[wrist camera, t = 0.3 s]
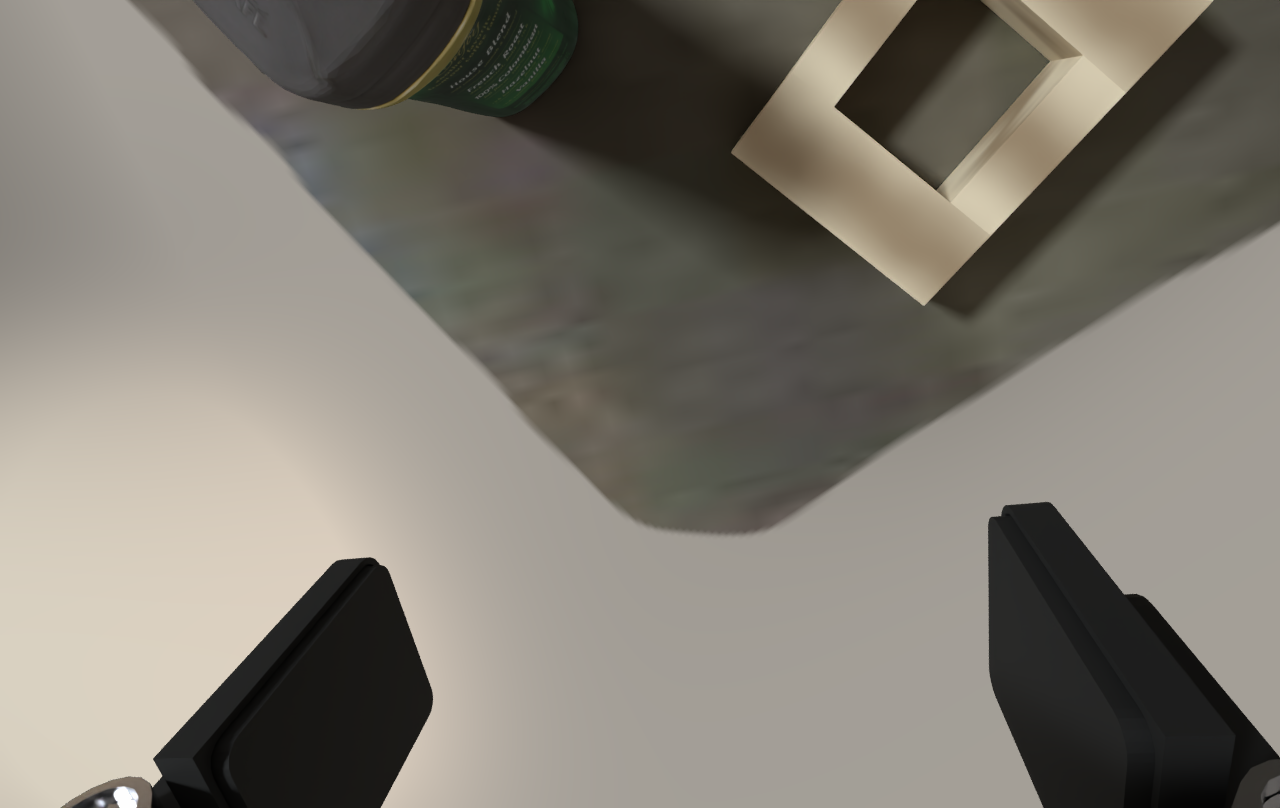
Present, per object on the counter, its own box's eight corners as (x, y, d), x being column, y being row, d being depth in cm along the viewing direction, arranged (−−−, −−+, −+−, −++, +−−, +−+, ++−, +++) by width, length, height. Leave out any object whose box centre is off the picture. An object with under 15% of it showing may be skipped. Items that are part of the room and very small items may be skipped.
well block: (966, -171, 30) (993, -205, 27) (1167, 11, 32) (1214, -1, 28) (732, 149, 36) (731, 152, 33) (908, 289, 38) (923, 306, 34)
